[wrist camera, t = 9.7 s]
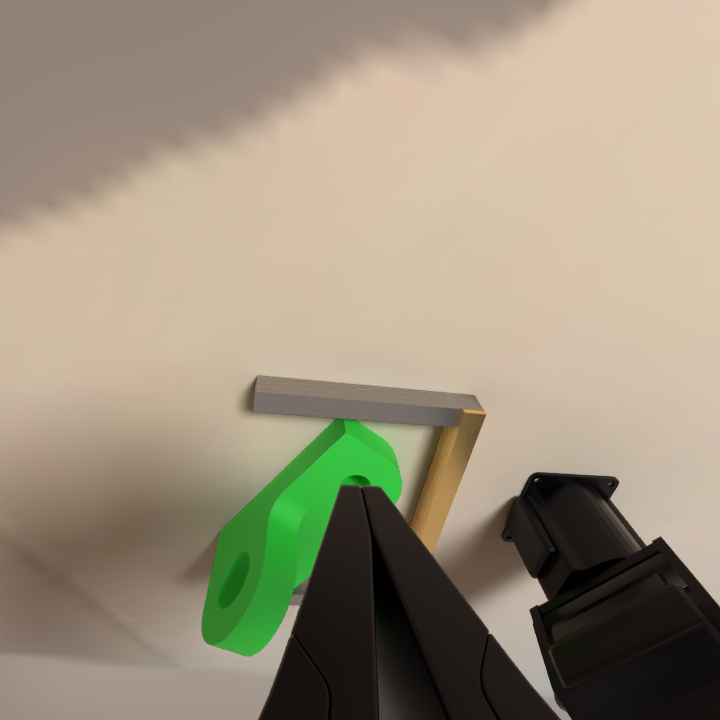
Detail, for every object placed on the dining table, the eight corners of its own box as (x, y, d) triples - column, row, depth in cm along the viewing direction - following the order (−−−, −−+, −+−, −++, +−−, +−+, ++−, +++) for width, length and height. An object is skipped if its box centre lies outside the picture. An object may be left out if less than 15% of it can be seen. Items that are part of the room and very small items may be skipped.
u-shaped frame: (474, 395, 24) (486, 414, 23) (406, 585, 32) (411, 609, 31) (257, 375, 22) (253, 395, 21) (242, 584, 30) (239, 609, 29)
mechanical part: (294, 562, 30) (290, 695, 23) (220, 528, 28) (191, 666, 21) (415, 458, 26) (453, 580, 20) (343, 409, 24) (357, 528, 17)
